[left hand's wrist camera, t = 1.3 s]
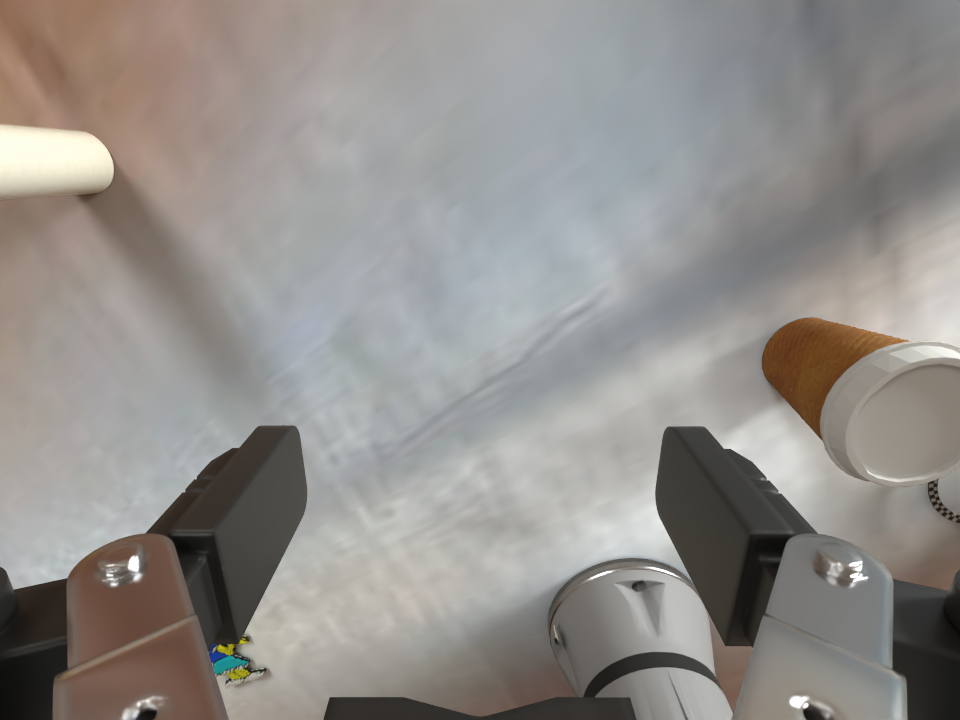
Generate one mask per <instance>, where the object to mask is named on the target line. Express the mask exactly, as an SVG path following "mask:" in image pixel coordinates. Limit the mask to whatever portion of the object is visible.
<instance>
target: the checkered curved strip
mask: <svg viewBox="0 0 960 720" xmlns="http://www.w3.org/2000/svg"><path fill="white" fill-rule="evenodd" d="M937 485H938V479H937V480H934V481H931V482H928V494H929V498H930V501H931V503H932V505H933V506H934V508H935V509H936V510H937V511H938V512H939V513H940V514H941V515H943V516H944V517H946V518H947V519H949V520H952V521H954V522H957V523H960V515H957V514H955V513H953V512H951V511H949V510H948V509H947V508H946V507H945V506H944V505H943V504H942V502H941V501H940V498H939V496H938V490H937Z"/></svg>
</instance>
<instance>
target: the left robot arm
mask: <svg viewBox="0 0 960 720" xmlns="http://www.w3.org/2000/svg"><path fill="white" fill-rule="evenodd" d="M655 496H656V506H657V510H658V514H659V517H660V519H661V521H662V523H663V525H664V527H665V529H666V531H667V533H668V534H669V536H670V538H671V540H672V542H673V544H674V546H675V548H676V550H677V552H678V554H679V556H680V558H681V560H682V562H683V564H684V566H685V568H686V570H687V572H688V574H689V576H690V578H691V580H692V582H693V583H694V585H695V587H696V589H697V591H698V593H699V595H700V597H701V599H702V601H703V603H704V605H705V607H706V609H707V611H708V613H709V615H710V617H711V619H712V621H713V623H714V625H715V627H716V629H717V630H718V632H719V634H720V636H721V638H722V640H723V642H724V644H725V646H752V648H753V650H752V653H751V656H750V660H749V663H748V666H747V669H746V673H745V676H744V679H743V683H742V686H741V689H740V692H739V696H738V699H737V702H736V706H735V709H734V712H733V715H732V719H731V720H960V570H959V571H958V572H957V573H956V575H955V577H954V580H953V582H952V584H951V587H950V589H949V591H946V590H941V589H936V588H932V587H927V586H922V585H918V584H913V583H908V582H904V581H899V580H895V579H892V576H891V574H890V573H889V571H888V570H887V568H886V567H885V566H884V565H883V564H882V563H881V562H880V561H879V560H878V559H876V558H875V557H874V556H872V555H871V554H870V553H868V552H867V551H865V550H863V549H861V548H860V547H858V546H856V545H854V544H852V543H849V542H847V541H844V540H842V539H839V538H835V537H832V536H827V535H822V534H818V533H817V532H816V531H815V530H814V529H813V528H812V527H811V526H810V525H809V523H808V522H807V521H806V520H805V519H804V518H803V517H802V516H801V515H800V514H799V513H798V511H797V510H796V509H795V508H794V507H793V506H792V505H791V504H790V503H789V502H788V501H787V499H786V498H785V497H784V496H783V495H782V494H779V493H778V490H777V489H776V487H775V486H774V485H773V484H772V483H771V482H770V481H767V480H766V477H765V475H764V474H763V473H762V472H761V471H760V470H759V469H758V468H757V467H756V466H755V465H754V463H753V462H751V461H749V460H748V459H746V458H745V457H743V456H741V455H740V454H738V453H736V452H735V451H733V450H731V449H724V448H723V447H722V446H721V445H720V444H719V443H718V441H717V440H716V439H715V438H714V437H713V436H712V434H711V433H710V432H709V431H708V430H707V429H706V428H705V427H667V428H666V429H665V431H664V434H663V439H662V447H661V454H660V461H659V468H658V475H657V482H656V491H655ZM306 502H307V483H306V476H305V469H304V462H303V455H302V448H301V440H300V434H299V431H298V429H297V427H296V426H258V427H257V428H256V429H255V430H254V431H253V433H252V434H251V435H250V436H249V437H248V438H247V440H246V441H245V442H244V443H243V444H242V446H241V447H240V448H232V449H230V450H229V451H227V452H225V453H224V454H222V455H220V456H219V457H217V458H216V459H214V460H212V461H211V462H210V463H209V464H208V465H207V466H206V467H205V468H204V469H203V471H202V472H201V473H200V474H199V475H198V476H197V480H194V481H193V482H192V483H191V484H190V485H189V486H188V487H187V488H186V491H185V493H182V494H181V495H180V496H179V497H178V498H177V499H176V500H175V501H174V503H173V504H172V505H171V506H170V507H169V508H168V509H167V510H166V511H165V512H164V514H163V515H162V516H161V517H160V518H159V519H158V520H157V521H156V522H155V523H154V525H153V526H152V527H151V528H150V529H149V530H148V531H147V532H146V533H145V534H138V535H133V536H128V537H125V538H121V539H118V540H116V541H113V542H111V543H108V544H106V545H104V546H102V547H100V548H99V549H97V550H95V551H93V552H92V553H90V554H89V555H88V556H86V557H85V558H84V559H82V560H81V561H80V562H79V563H78V564H77V565H76V566H75V567H74V568H73V570H72V571H71V573H70V574H69V576H68V578H67V579H62V580H57V581H53V582H48V583H43V584H39V585H34V586H29V587H25V588H20V589H15V590H13V587H12V585H11V582H10V580H9V578H8V575H7V573H6V571H5V570H4V569H3V568H1V567H0V720H229V719H228V715H227V712H226V709H225V706H224V702H223V699H222V696H221V692H220V689H219V686H218V683H217V679H216V676H215V673H214V669H213V666H212V663H211V660H210V656H209V653H208V651H209V650H210V648H211V646H212V644H239V642H240V640H241V638H242V636H243V634H244V632H245V630H246V628H247V626H248V624H249V622H250V620H251V618H252V616H253V614H254V612H255V610H256V608H257V606H258V604H259V602H260V601H261V599H262V597H263V595H264V593H265V591H266V589H267V587H268V585H269V583H270V581H271V579H272V577H273V575H274V573H275V571H276V569H277V567H278V565H279V563H280V561H281V559H282V557H283V555H284V553H285V551H286V549H287V547H288V545H289V543H290V541H291V539H292V537H293V535H294V533H295V531H296V529H297V527H298V525H299V523H300V521H301V519H302V517H303V515H304V512H305V508H306ZM324 720H636V716H635V713H634V709H633V706H632V702H631V698H630V697H556V698H552V699H549V700H545V701H541V702H537V703H534V704H530V705H526V706H522V707H519V708H515V709H511V710H508V711H504V712H500V713H496V714H493V715H489V716H484V717H476V716H471V715H467V714H464V713H460V712H456V711H452V710H449V709H445V708H441V707H438V706H434V705H430V704H426V703H423V702H419V701H415V700H411V699H408V698H404V697H330V698H329V702H328V706H327V709H326V713H325V716H324Z"/></svg>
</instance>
